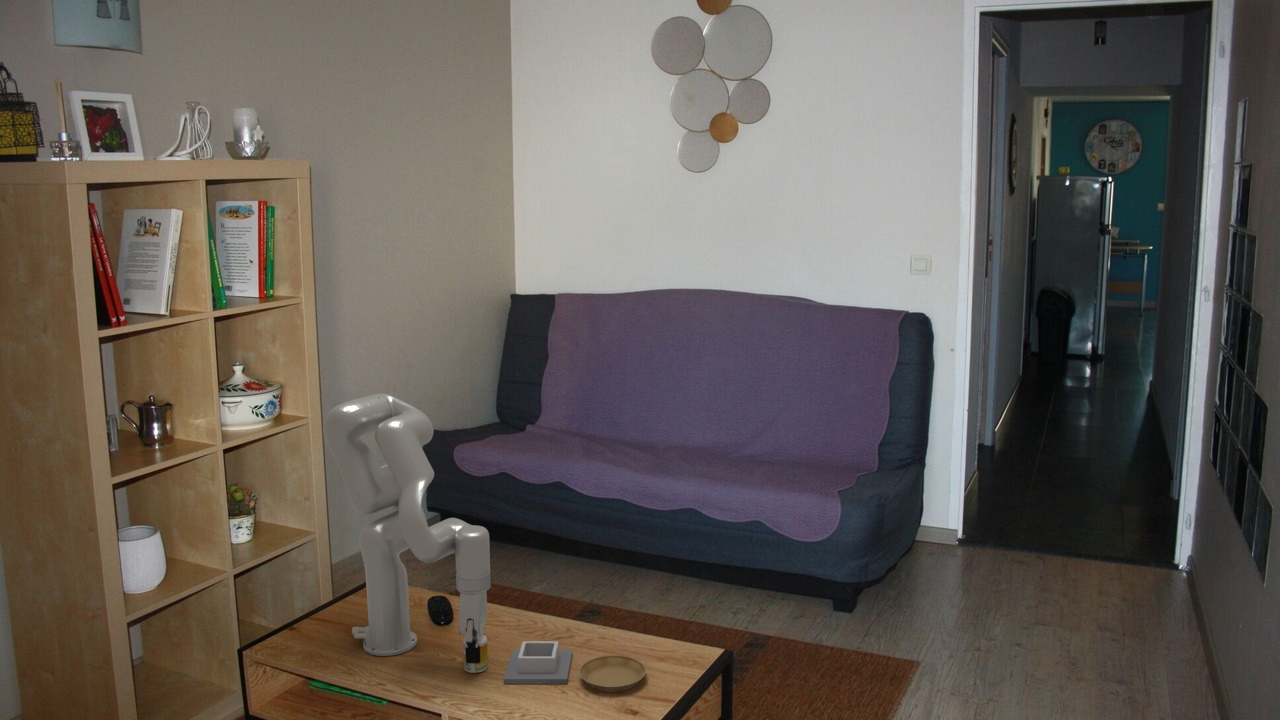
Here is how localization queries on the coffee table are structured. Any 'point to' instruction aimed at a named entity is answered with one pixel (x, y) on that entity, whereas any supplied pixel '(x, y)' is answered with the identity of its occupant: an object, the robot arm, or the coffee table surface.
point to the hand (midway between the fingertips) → (475, 655)
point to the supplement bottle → (483, 655)
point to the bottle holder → (538, 664)
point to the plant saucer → (612, 673)
